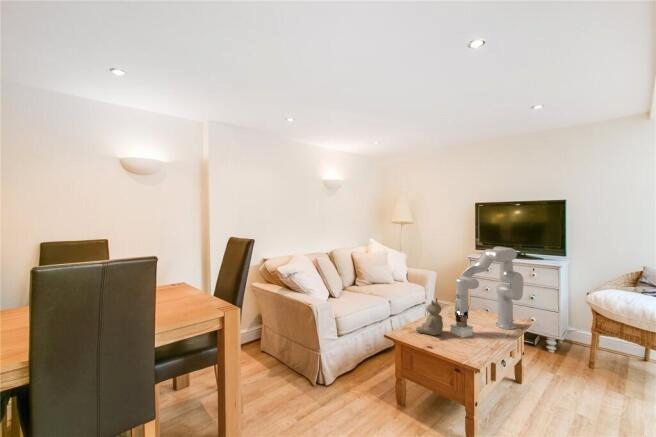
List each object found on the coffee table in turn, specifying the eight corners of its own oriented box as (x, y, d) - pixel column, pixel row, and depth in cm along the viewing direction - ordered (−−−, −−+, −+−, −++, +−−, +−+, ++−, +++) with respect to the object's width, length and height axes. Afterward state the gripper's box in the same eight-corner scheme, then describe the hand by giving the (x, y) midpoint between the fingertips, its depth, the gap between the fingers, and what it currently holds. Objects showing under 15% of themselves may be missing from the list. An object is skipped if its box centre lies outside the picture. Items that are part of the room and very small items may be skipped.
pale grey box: (460, 330, 218) (460, 322, 218) (473, 335, 209) (473, 327, 208) (450, 332, 214) (450, 324, 214) (462, 338, 204) (462, 329, 204)
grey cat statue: (425, 325, 227) (425, 293, 226) (446, 331, 216) (446, 297, 215) (412, 334, 212) (411, 299, 211) (434, 340, 201) (434, 304, 200)
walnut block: (460, 323, 215) (460, 314, 215) (466, 325, 211) (466, 316, 210) (456, 325, 212) (456, 315, 212) (463, 327, 208) (463, 317, 208)
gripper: (463, 292, 219) (463, 315, 219) (449, 297, 209) (450, 321, 209) (473, 294, 213) (473, 318, 213) (459, 299, 202) (460, 324, 203)
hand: (462, 320), depth 211 cm, fingers open, 9 cm apart
